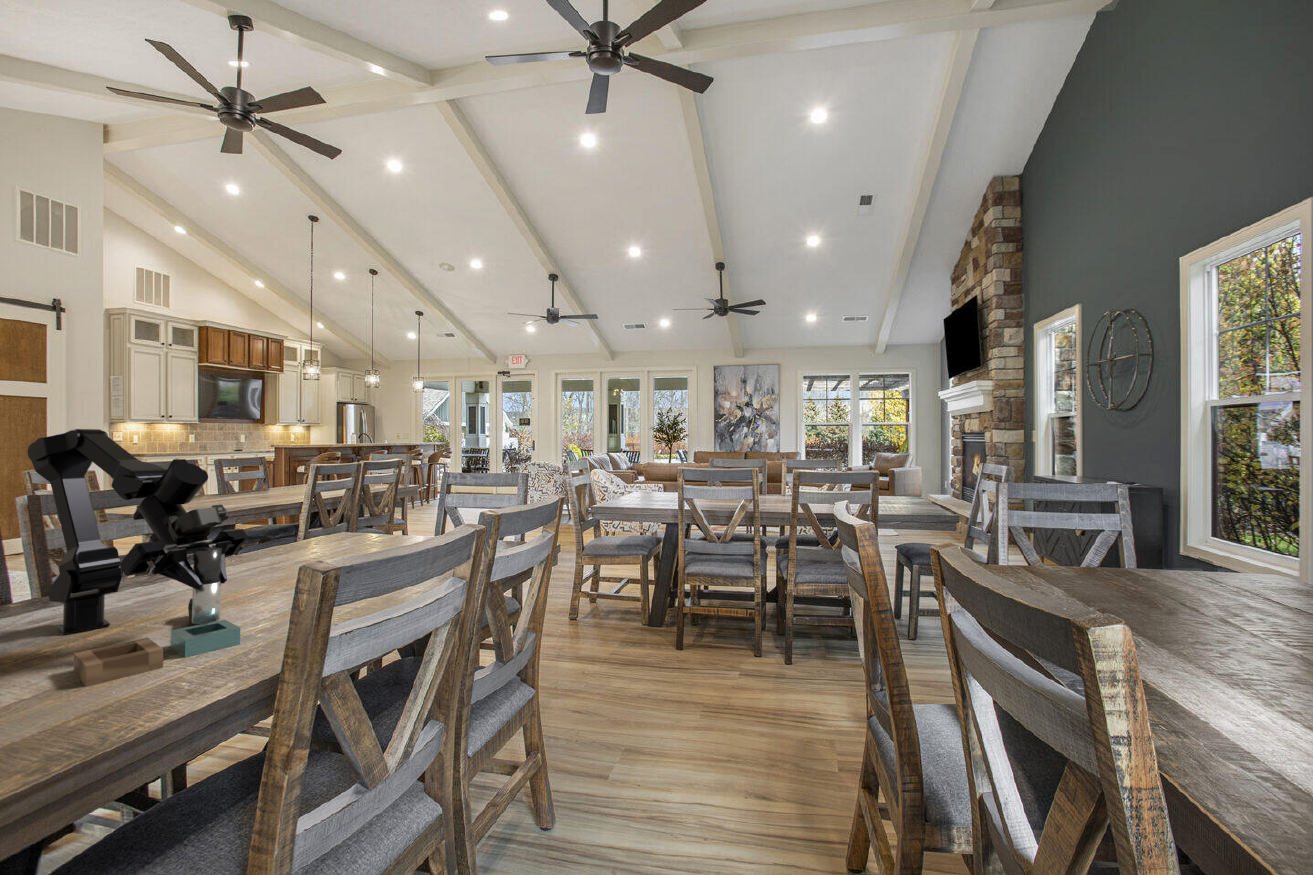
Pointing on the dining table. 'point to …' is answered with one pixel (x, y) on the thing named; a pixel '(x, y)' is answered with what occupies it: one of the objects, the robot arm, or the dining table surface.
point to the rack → (117, 661)
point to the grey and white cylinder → (207, 585)
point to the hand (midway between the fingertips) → (212, 584)
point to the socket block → (205, 637)
